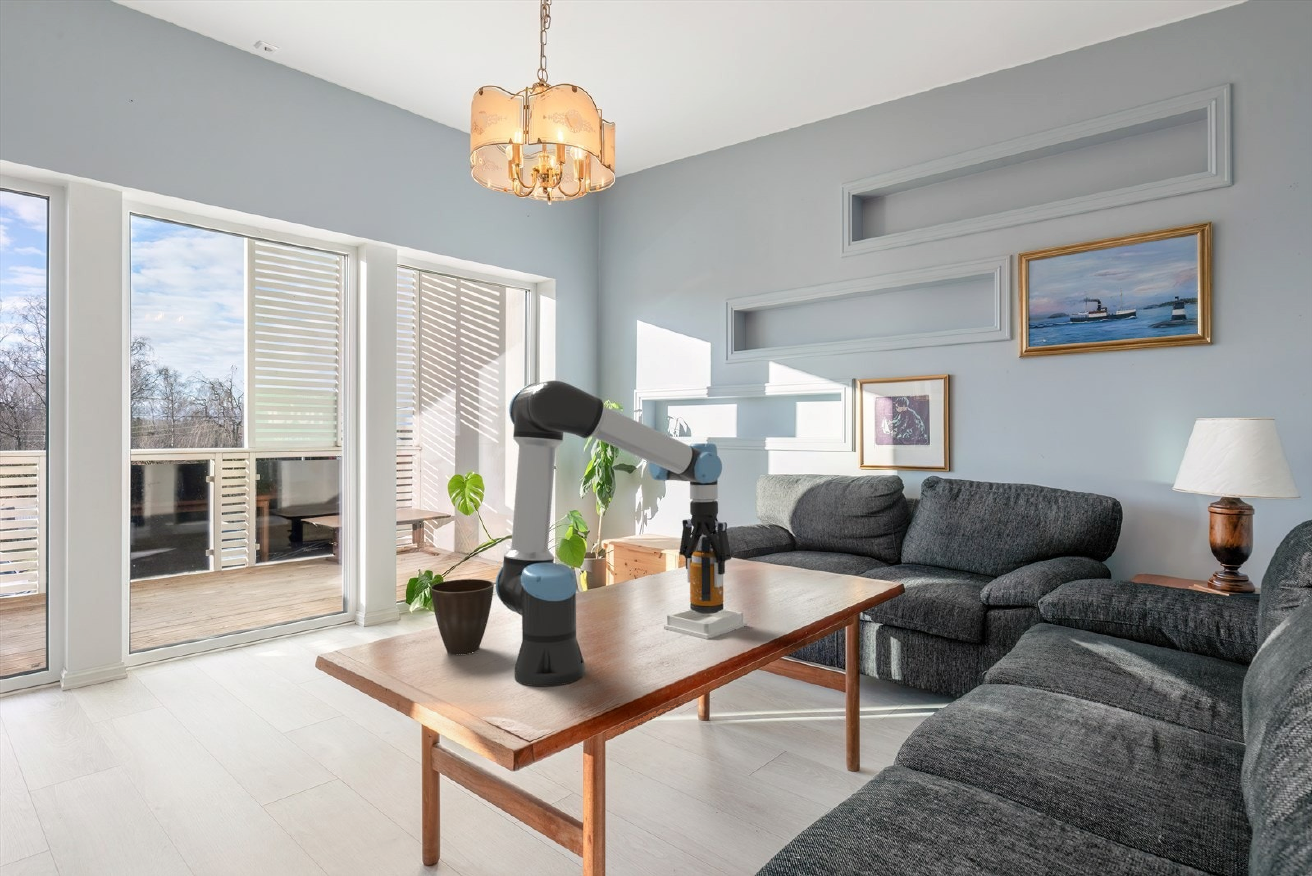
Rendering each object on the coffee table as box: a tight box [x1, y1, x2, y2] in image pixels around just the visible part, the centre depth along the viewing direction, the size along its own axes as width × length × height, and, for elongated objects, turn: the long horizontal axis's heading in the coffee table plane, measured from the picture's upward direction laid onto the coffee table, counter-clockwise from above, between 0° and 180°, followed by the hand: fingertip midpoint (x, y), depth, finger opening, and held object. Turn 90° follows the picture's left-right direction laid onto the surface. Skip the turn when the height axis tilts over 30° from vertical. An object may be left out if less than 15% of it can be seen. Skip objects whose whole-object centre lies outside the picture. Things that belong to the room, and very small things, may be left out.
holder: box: [663, 608, 748, 640], centre depth 191 cm, size 17×15×4 cm
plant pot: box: [430, 578, 495, 656], centre depth 173 cm, size 15×15×16 cm
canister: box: [689, 536, 724, 614], centre depth 191 cm, size 9×11×20 cm
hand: (705, 583), depth 191 cm, fingers closed on canister, 9 cm apart
